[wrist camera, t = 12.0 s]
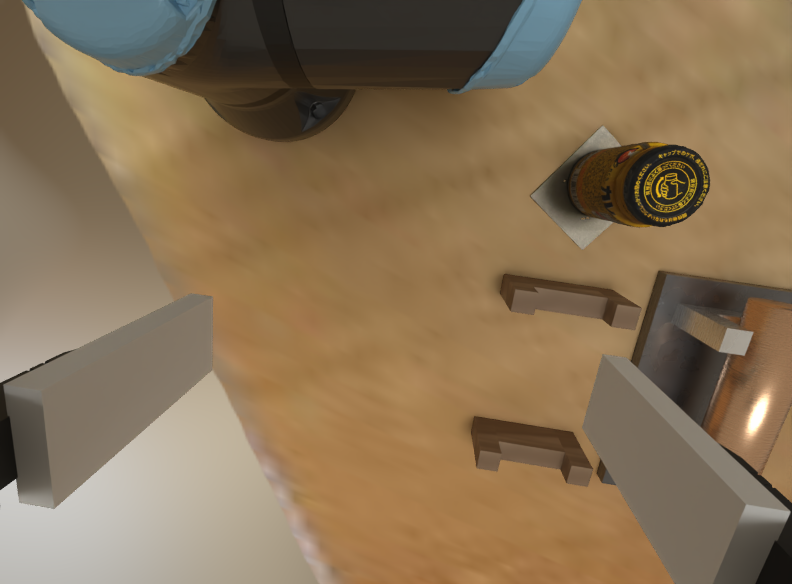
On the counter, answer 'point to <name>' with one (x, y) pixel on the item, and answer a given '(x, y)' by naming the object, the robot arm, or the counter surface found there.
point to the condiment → (623, 187)
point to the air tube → (755, 385)
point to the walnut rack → (540, 442)
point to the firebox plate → (693, 337)
